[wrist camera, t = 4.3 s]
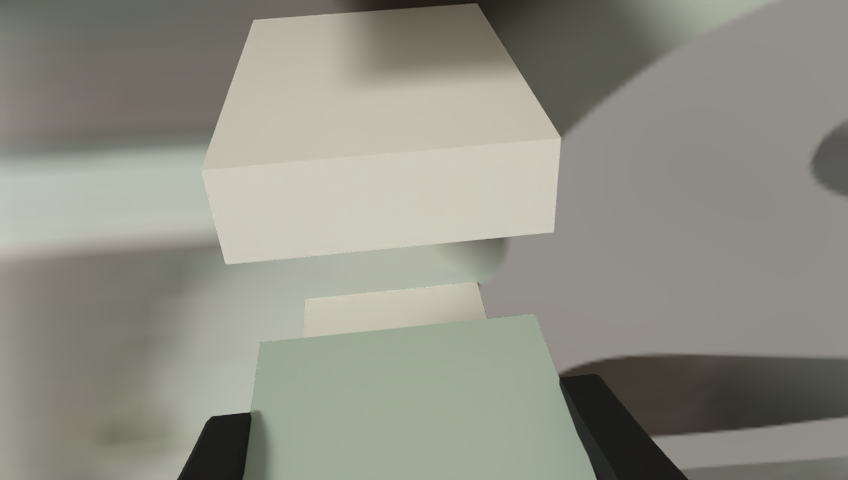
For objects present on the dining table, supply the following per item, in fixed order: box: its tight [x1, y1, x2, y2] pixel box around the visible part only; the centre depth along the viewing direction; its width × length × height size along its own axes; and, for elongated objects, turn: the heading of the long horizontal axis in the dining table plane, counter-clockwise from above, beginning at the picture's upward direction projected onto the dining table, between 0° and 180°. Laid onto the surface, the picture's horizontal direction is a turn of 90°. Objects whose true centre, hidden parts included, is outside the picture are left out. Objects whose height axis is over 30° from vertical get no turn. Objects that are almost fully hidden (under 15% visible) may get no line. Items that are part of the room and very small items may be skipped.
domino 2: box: [303, 282, 487, 338], centre depth 17 cm, size 2×5×7 cm, turn 92°
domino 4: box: [201, 3, 561, 264], centre depth 13 cm, size 2×5×7 cm, turn 93°
